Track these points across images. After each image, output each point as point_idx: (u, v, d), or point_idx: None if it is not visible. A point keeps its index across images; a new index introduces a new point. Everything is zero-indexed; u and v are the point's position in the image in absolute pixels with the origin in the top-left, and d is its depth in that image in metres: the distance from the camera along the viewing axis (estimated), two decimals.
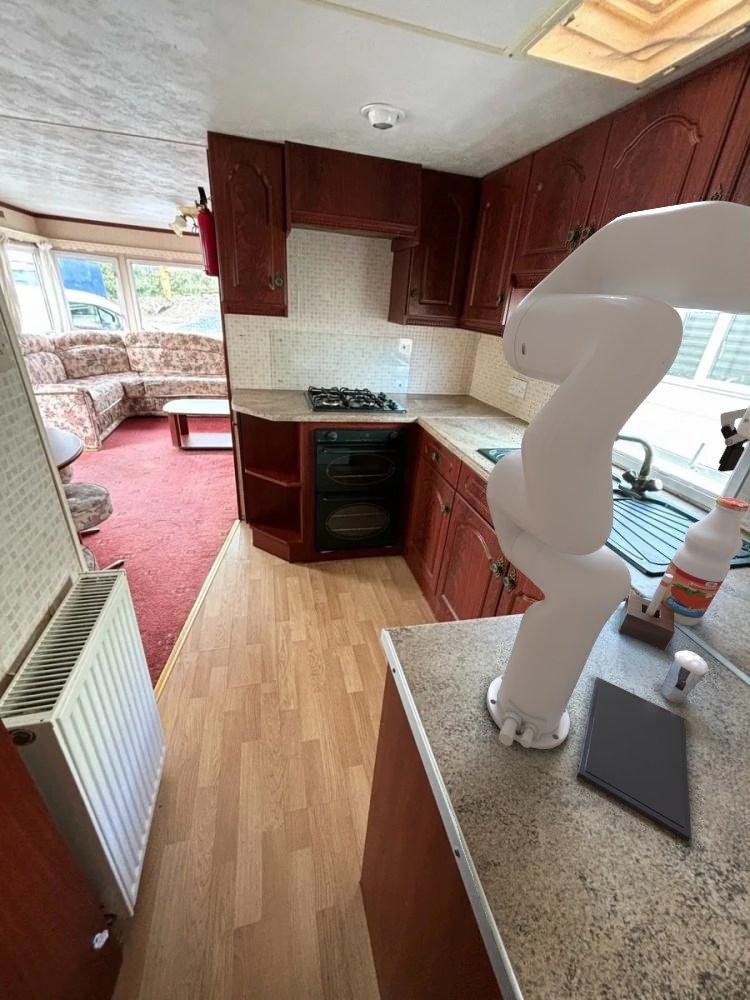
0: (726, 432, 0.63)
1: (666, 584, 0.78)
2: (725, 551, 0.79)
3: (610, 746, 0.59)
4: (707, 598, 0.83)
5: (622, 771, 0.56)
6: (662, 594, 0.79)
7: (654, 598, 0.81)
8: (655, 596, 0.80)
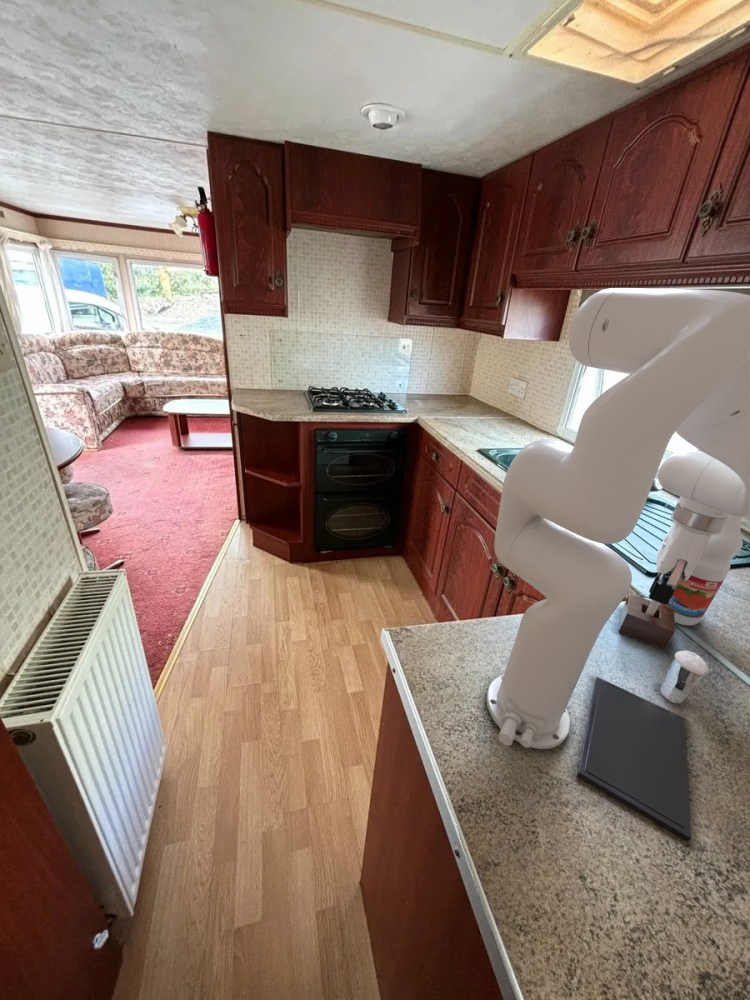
0: None
1: None
2: (725, 551, 0.79)
3: (610, 746, 0.59)
4: (707, 598, 0.83)
5: (622, 771, 0.56)
6: None
7: None
8: None
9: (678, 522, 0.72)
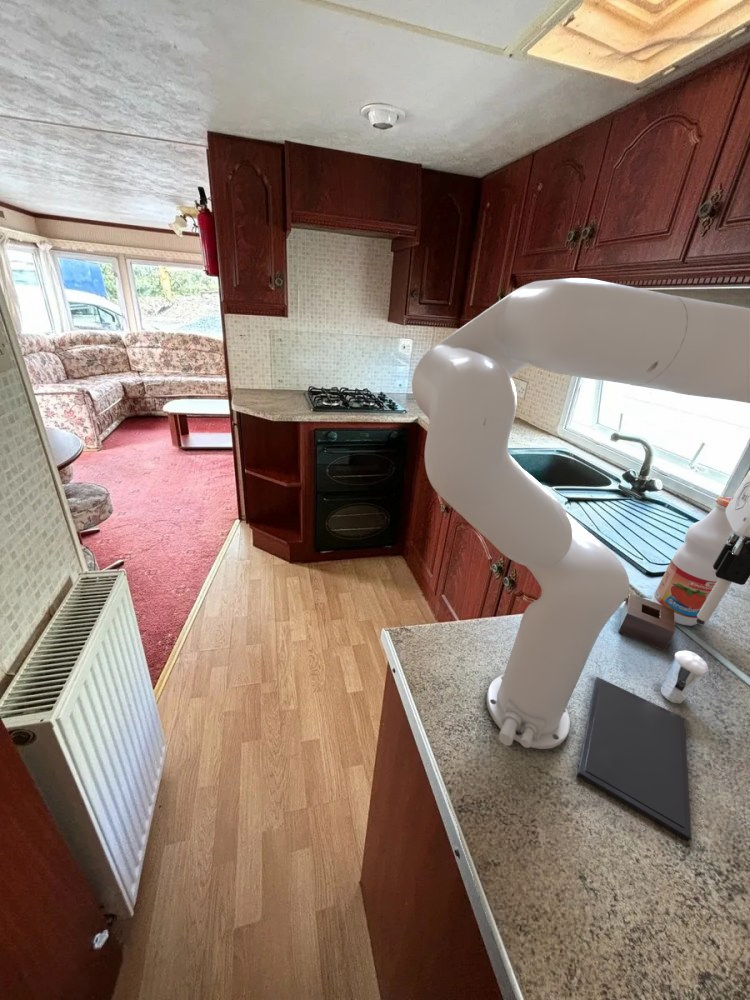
0: None
1: None
2: None
3: (610, 746, 0.59)
4: None
5: (622, 771, 0.56)
6: None
7: None
8: None
9: None
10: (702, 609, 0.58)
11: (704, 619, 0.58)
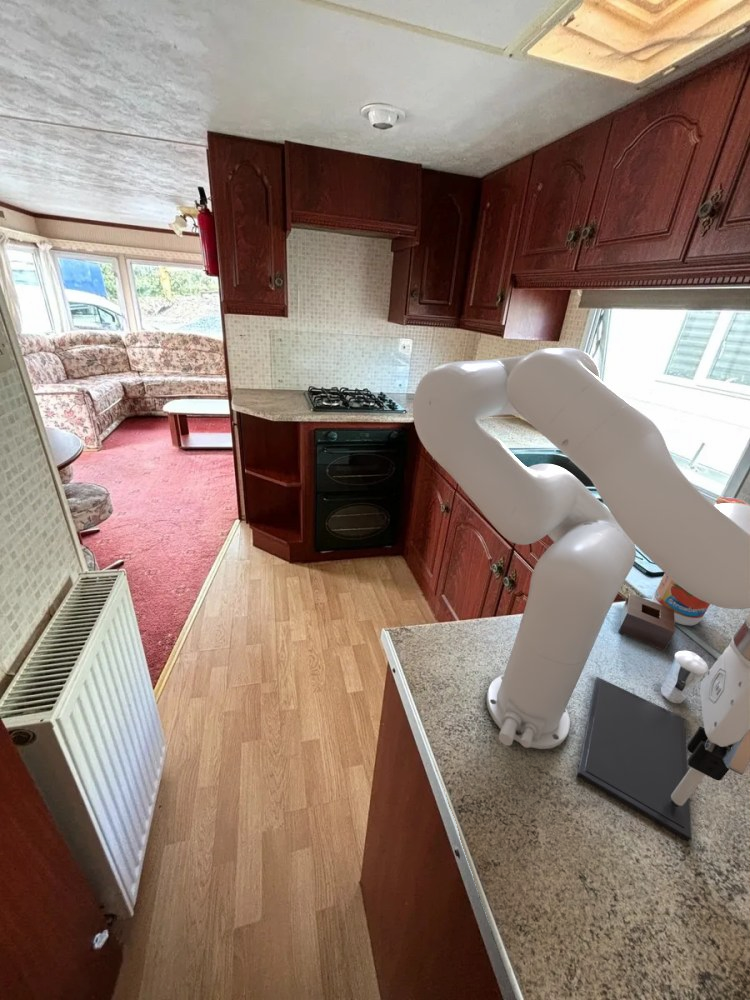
0: None
1: None
2: None
3: (610, 746, 0.59)
4: None
5: (622, 771, 0.56)
6: None
7: None
8: None
9: (748, 662, 0.40)
10: (676, 792, 0.51)
11: (678, 803, 0.51)
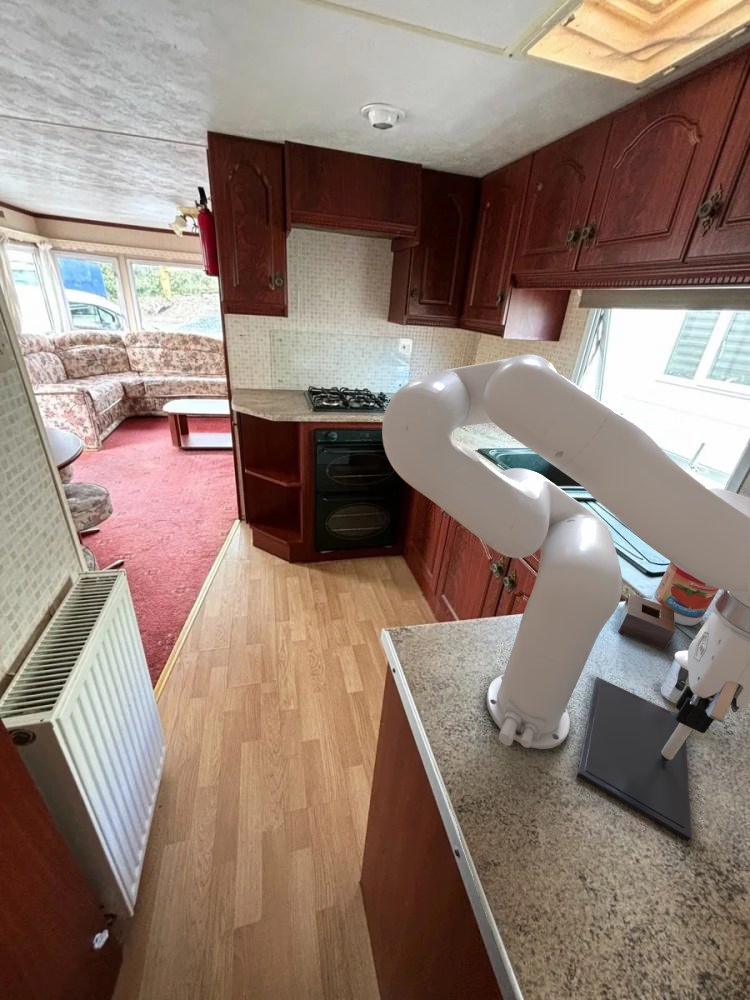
0: None
1: None
2: None
3: (610, 746, 0.59)
4: (707, 598, 0.83)
5: (622, 771, 0.56)
6: None
7: None
8: None
9: (727, 621, 0.46)
10: (666, 747, 0.57)
11: (668, 757, 0.57)
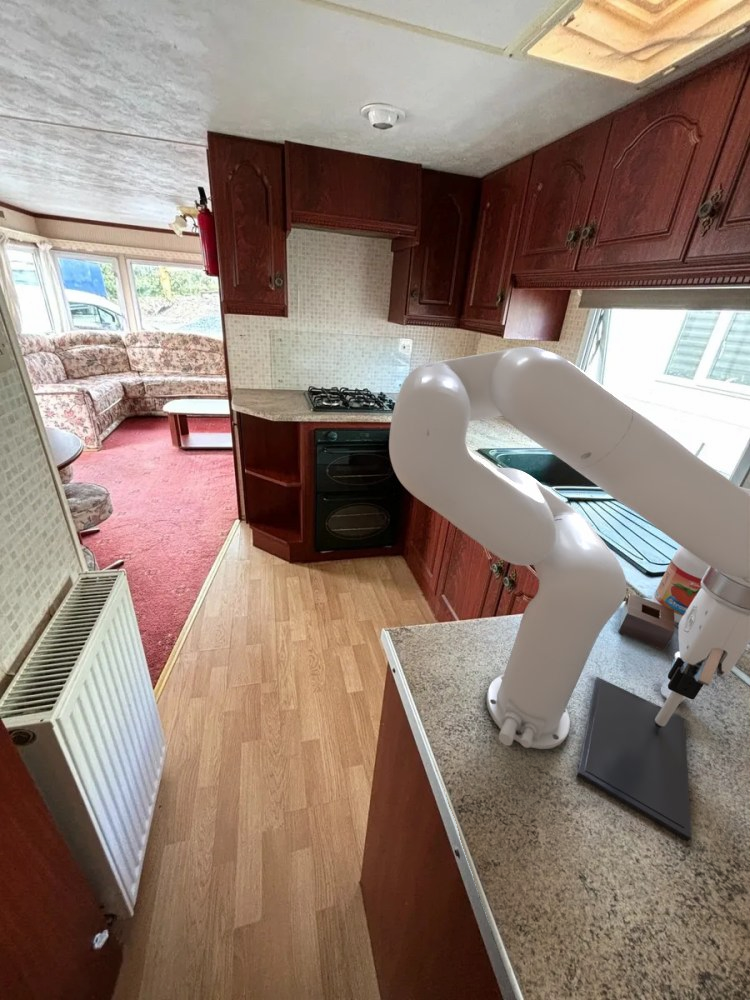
0: None
1: None
2: None
3: (610, 746, 0.59)
4: None
5: (622, 771, 0.56)
6: None
7: None
8: None
9: (713, 594, 0.51)
10: (659, 714, 0.61)
11: (661, 724, 0.61)
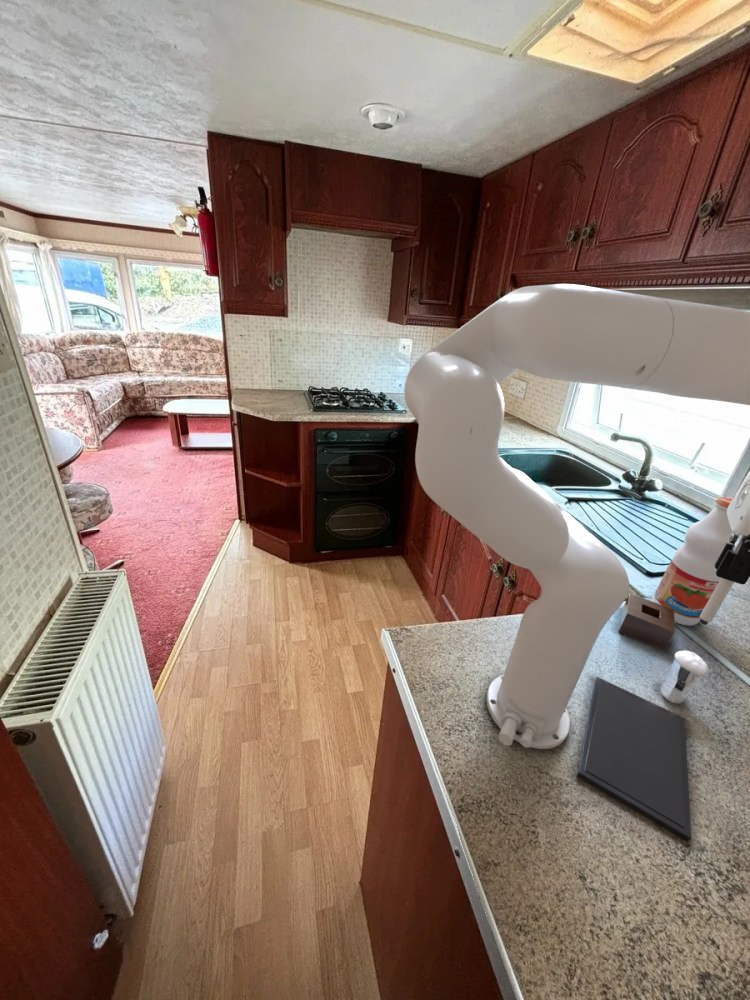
0: None
1: None
2: None
3: (610, 746, 0.59)
4: (707, 598, 0.83)
5: (622, 771, 0.56)
6: None
7: None
8: None
9: None
10: (705, 609, 0.58)
11: (707, 619, 0.58)
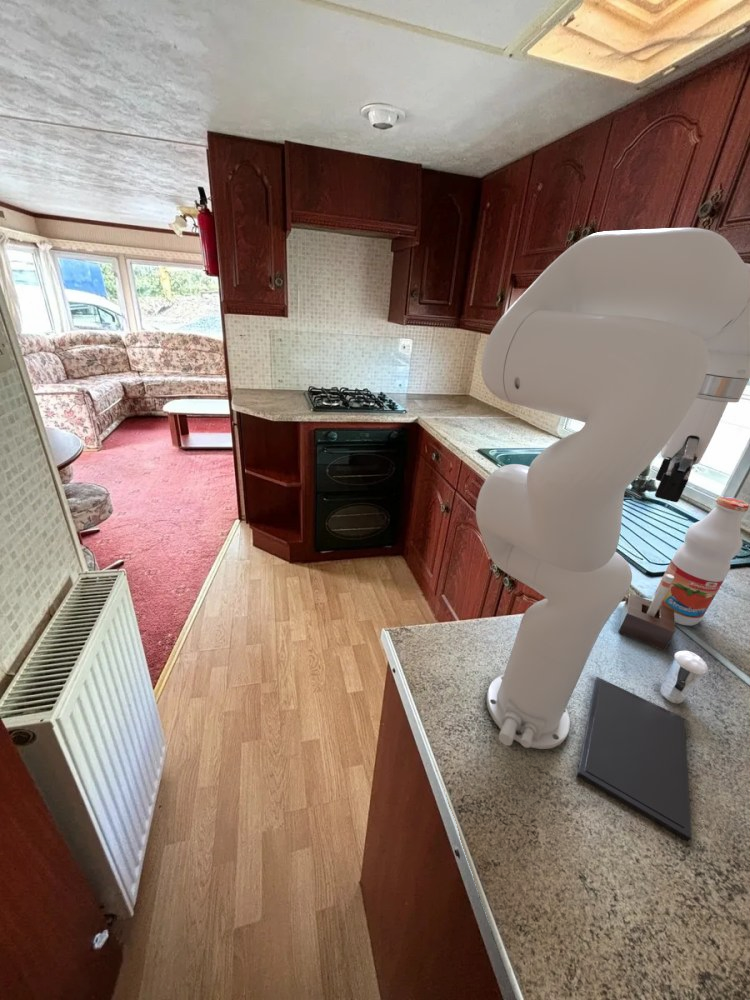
0: None
1: (668, 584, 0.78)
2: (725, 551, 0.79)
3: (610, 746, 0.59)
4: (707, 598, 0.83)
5: (622, 771, 0.56)
6: (663, 594, 0.79)
7: (655, 599, 0.81)
8: (656, 597, 0.80)
9: None
10: None
11: None
